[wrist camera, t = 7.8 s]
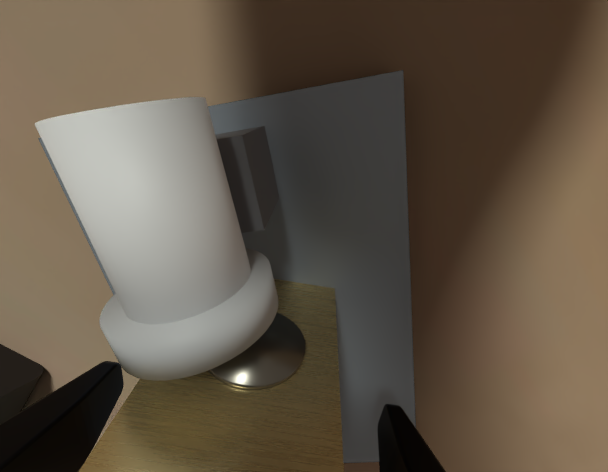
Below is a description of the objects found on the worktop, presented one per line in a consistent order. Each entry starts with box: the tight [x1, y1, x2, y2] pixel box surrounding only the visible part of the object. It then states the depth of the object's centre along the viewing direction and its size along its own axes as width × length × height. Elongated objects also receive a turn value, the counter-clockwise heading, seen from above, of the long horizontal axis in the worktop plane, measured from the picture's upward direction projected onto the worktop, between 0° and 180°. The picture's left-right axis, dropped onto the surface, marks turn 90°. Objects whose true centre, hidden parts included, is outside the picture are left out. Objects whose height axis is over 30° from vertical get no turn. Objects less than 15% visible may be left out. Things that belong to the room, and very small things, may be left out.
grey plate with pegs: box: [35, 70, 416, 463], centre depth 9 cm, size 15×10×6 cm, turn 9°
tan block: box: [79, 279, 344, 472], centre depth 8 cm, size 5×4×6 cm
